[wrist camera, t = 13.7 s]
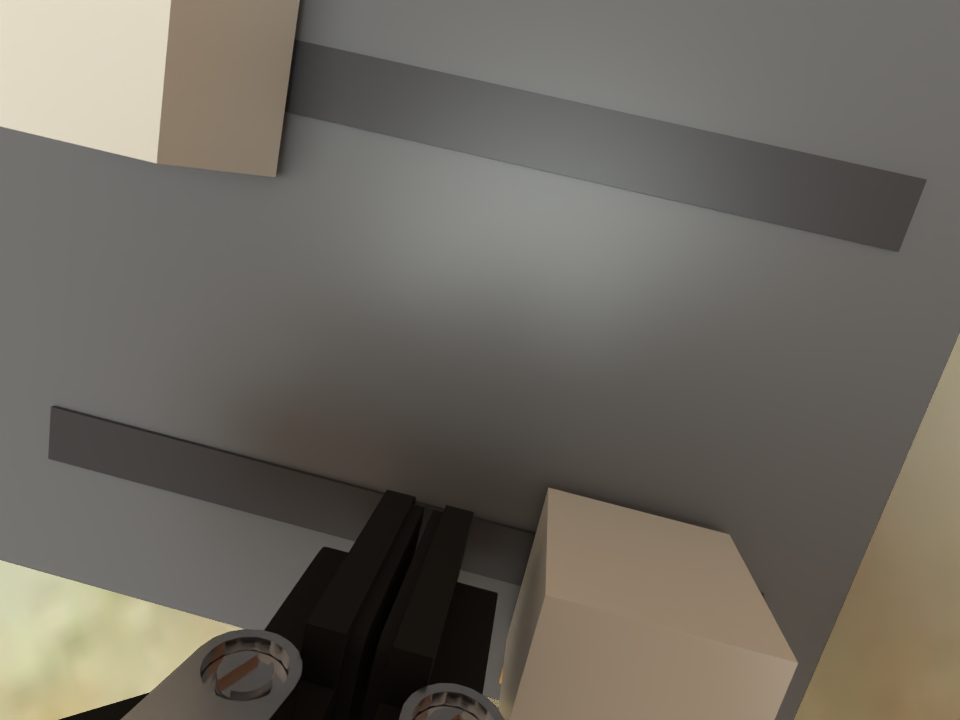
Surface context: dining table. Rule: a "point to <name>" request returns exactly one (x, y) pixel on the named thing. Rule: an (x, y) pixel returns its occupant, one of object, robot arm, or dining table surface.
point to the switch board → (497, 300)
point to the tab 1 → (152, 77)
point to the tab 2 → (639, 623)
